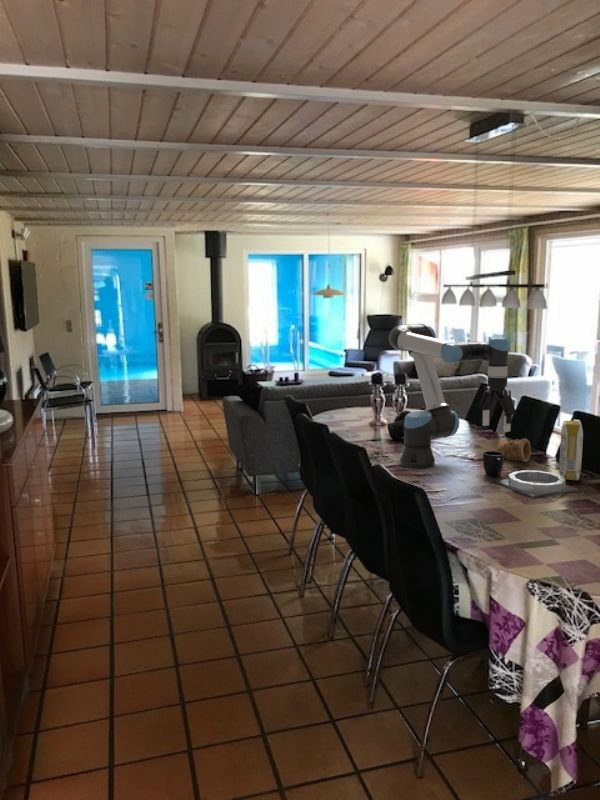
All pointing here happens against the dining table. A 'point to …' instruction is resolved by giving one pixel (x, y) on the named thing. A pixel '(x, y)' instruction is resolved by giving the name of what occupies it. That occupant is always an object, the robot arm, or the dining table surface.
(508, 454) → the clay pipe
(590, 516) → the dining table surface
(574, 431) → the juice carton
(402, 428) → the valve
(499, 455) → the mug
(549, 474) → the duct collar
